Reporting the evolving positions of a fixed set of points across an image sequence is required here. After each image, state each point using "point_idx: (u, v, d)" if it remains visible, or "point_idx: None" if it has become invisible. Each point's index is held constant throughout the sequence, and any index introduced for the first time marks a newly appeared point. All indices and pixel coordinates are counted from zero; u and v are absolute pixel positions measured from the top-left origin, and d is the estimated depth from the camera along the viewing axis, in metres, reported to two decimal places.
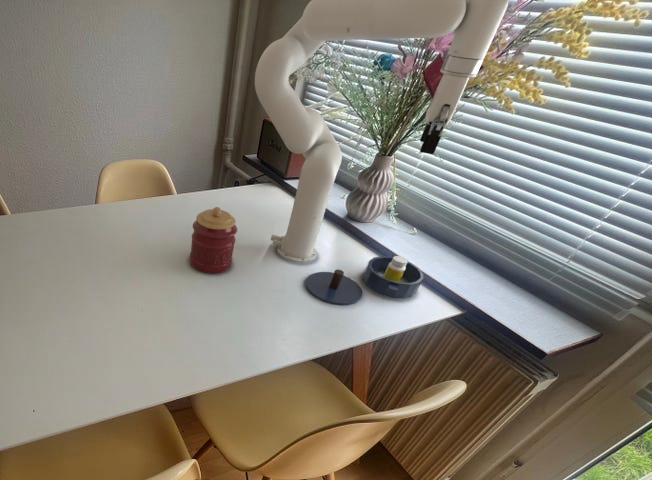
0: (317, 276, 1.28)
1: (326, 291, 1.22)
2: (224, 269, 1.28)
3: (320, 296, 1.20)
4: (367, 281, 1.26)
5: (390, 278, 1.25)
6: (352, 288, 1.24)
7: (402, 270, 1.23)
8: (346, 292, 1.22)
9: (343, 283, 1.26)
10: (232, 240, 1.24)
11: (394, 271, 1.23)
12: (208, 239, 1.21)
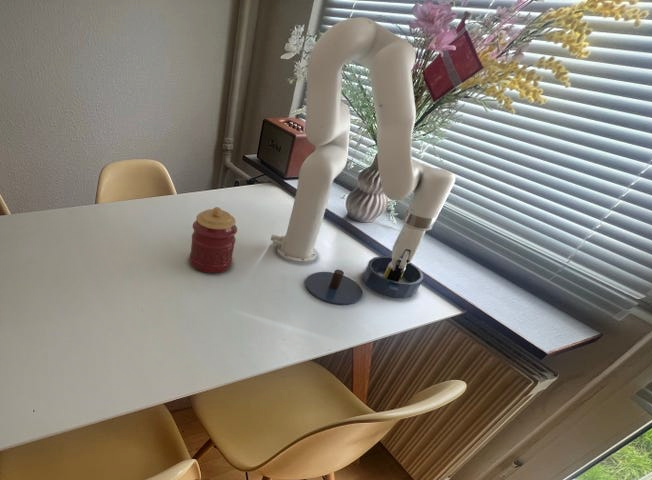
0: (317, 276, 1.28)
1: (326, 291, 1.22)
2: (224, 269, 1.28)
3: (320, 296, 1.20)
4: (367, 281, 1.26)
5: None
6: (352, 288, 1.24)
7: None
8: (346, 292, 1.22)
9: (343, 283, 1.26)
10: (232, 240, 1.24)
11: None
12: (208, 239, 1.21)
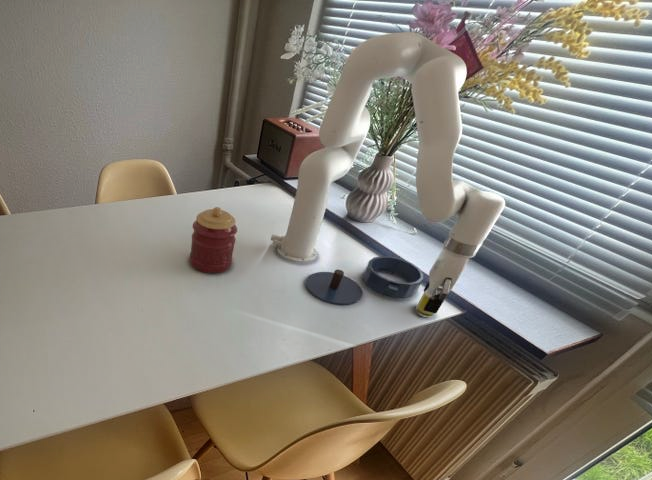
0: (317, 276, 1.28)
1: (326, 291, 1.22)
2: (224, 269, 1.28)
3: (320, 296, 1.20)
4: (367, 281, 1.26)
5: None
6: (352, 288, 1.24)
7: None
8: (346, 292, 1.22)
9: (343, 283, 1.26)
10: (232, 240, 1.24)
11: None
12: (208, 239, 1.21)
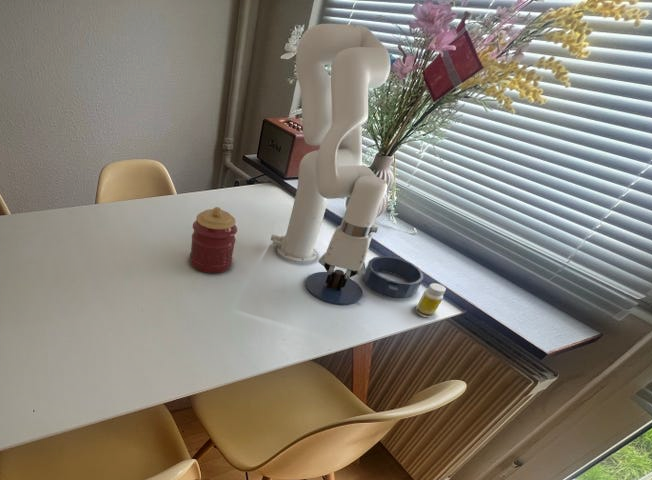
0: (317, 276, 1.28)
1: (326, 291, 1.22)
2: (224, 269, 1.28)
3: (320, 296, 1.20)
4: (367, 281, 1.26)
5: (426, 307, 1.16)
6: (352, 288, 1.24)
7: (440, 299, 1.14)
8: (346, 292, 1.22)
9: None
10: (232, 240, 1.24)
11: (430, 299, 1.14)
12: (208, 239, 1.21)
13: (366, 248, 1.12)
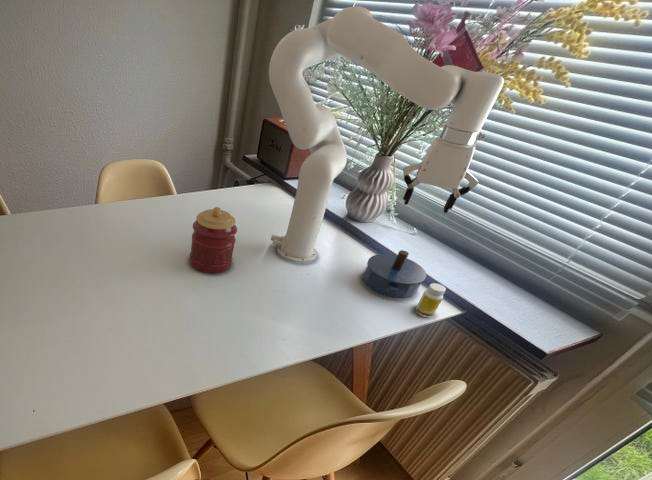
0: (378, 258, 1.28)
1: (390, 272, 1.22)
2: (224, 269, 1.28)
3: (385, 277, 1.20)
4: (367, 281, 1.26)
5: (426, 307, 1.16)
6: (415, 269, 1.24)
7: (440, 299, 1.14)
8: (410, 273, 1.23)
9: (405, 264, 1.26)
10: (232, 240, 1.24)
11: (430, 299, 1.14)
12: (208, 239, 1.21)
13: (470, 159, 1.01)
